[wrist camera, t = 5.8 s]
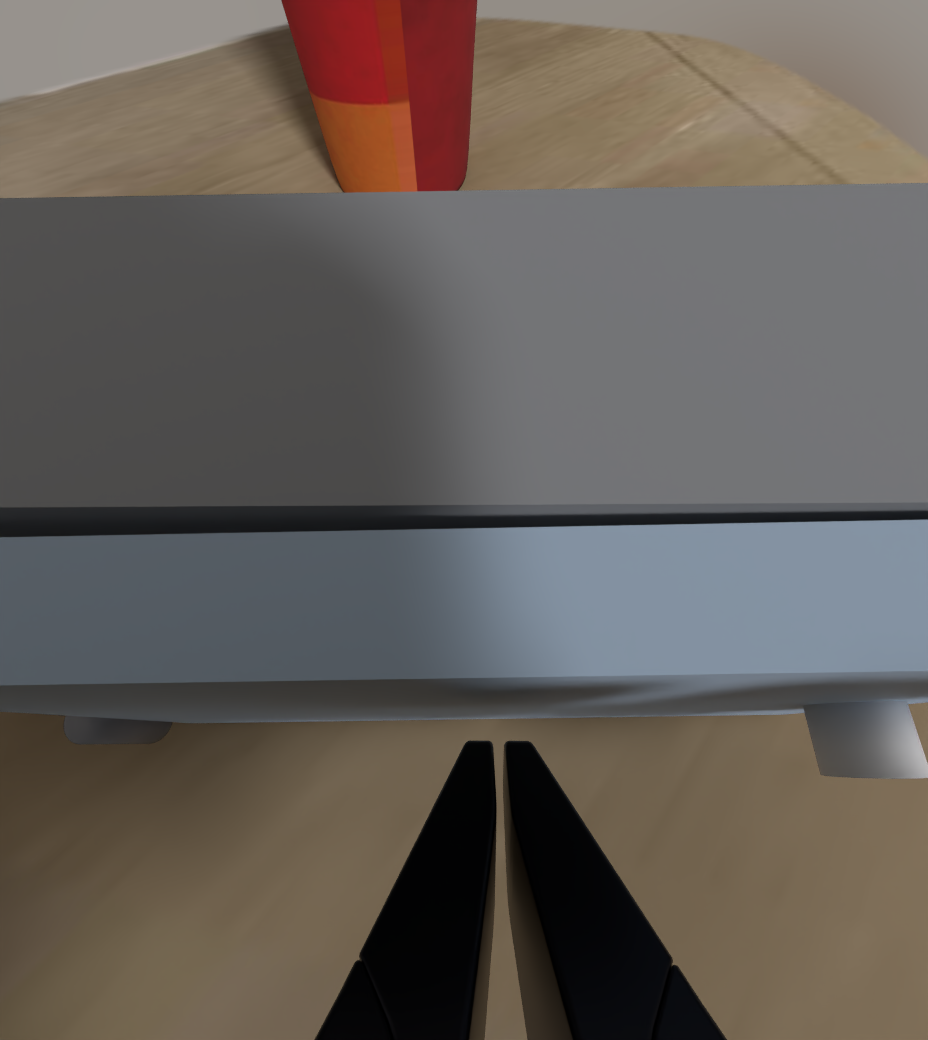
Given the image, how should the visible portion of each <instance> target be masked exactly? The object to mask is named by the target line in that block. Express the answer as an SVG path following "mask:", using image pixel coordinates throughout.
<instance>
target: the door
mask: <svg viewBox="0 0 928 1040" xmlns="http://www.w3.org/2000/svg"><path fill="white" fill-rule="evenodd" d="M925 702H928V520H882V521H830V522H778V523H726V524H674V525H621V526H569V527H517V528H465V529H412V530H360V531H308V532H256V533H204V534H151V535H99V536H47V537H0V712H16V713H33V714H49V715H66V717H65V720H64V732H65V735H66V737H67V738H68V739H69V740H70V741H71V742H73V743H76V744H150V743H155V742H157V741H159V740H161V739H162V738H163V737H164V736H165V735H166V734H167V733H168V731H169V730H170V728H171V725H172V722H181V723H239V722H307V721H375V720H443V719H511V718H579V717H647V716H715V715H782V714H794V713H805V716H806V720H807V724H808V728H809V732H810V736H811V739H812V743H813V747H814V751H815V755H816V759H817V763H818V767H819V771H820V775H824V776H834V777H851V778H889V779H907V778H928V764H927V761H926V758H925V755H924V752H923V749H922V746H921V743H920V740H919V737H918V734H917V731H916V728H915V725H914V722H913V719H912V716H911V713H910V710H909V707H908V704H913V703H925Z"/></svg>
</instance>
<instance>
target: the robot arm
mask: <svg viewBox="0 0 928 1040" xmlns="http://www.w3.org/2000/svg"><path fill="white" fill-rule="evenodd" d="M503 801H504V825H505V850H506V874H507V893H508V906H509V915H510V923H511V930H512V937H513V943H514V950H515V957H516V964H517V971H518V978H519V984H520V991H521V998H522V1005H523V1012H524V1019H525V1025H526V1032H527V1039H528V1040H727V1039H726V1037H725V1036H724V1035H723V1033H722V1032H721V1030H720V1029H719V1027H718V1026H717V1024H716V1023H715V1021H714V1020H713V1019H712V1017H711V1016H710V1014H709V1013H708V1011H707V1010H706V1008H705V1007H704V1005H703V1004H702V1002H701V1001H700V999H699V998H698V996H697V995H696V993H695V992H694V990H693V989H692V987H691V986H690V984H689V983H688V981H687V979H686V978H685V976H684V975H683V973H682V972H681V970H680V969H679V967H678V966H677V965H673V966H672V963H673V959H672V957H671V955H670V954H669V952H668V951H667V949H666V948H665V946H664V945H663V943H662V942H661V940H660V939H659V937H658V935H657V934H656V932H655V931H654V929H653V928H652V926H651V925H650V923H649V922H648V920H647V919H646V917H645V916H644V914H643V912H642V911H641V909H640V908H639V906H638V905H637V903H636V902H635V900H634V899H633V897H632V896H631V894H630V893H629V891H628V889H627V888H626V886H625V885H624V883H623V882H622V880H621V879H620V877H619V876H618V874H617V873H616V871H615V870H614V868H613V866H612V865H611V863H610V862H609V860H608V859H607V857H606V856H605V854H604V853H603V851H602V850H601V848H600V847H599V845H598V843H597V842H596V840H595V839H594V837H593V836H592V834H591V833H590V831H589V830H588V828H587V827H586V825H585V824H584V822H583V820H582V819H581V817H580V816H579V814H578V813H577V811H576V810H575V808H574V807H573V805H572V804H571V802H570V801H569V799H568V797H567V796H566V794H565V793H564V791H563V790H562V788H561V787H560V785H559V784H558V782H557V781H556V779H555V777H554V776H553V774H552V773H551V771H550V770H549V768H548V767H547V765H546V764H545V762H544V761H543V759H542V758H541V756H540V754H539V753H538V751H537V750H536V748H535V747H534V745H533V744H532V743H531V742H529V741H507V742H506V743H505V745H504V765H503ZM495 861H496V787H495V770H494V753H493V744H492V742H490V741H468V742H466V743H465V745H464V746H463V748H462V750H461V752H460V754H459V756H458V758H457V760H456V762H455V764H454V766H453V768H452V770H451V772H450V774H449V776H448V778H447V780H446V782H445V784H444V786H443V788H442V790H441V792H440V794H439V796H438V798H437V800H436V802H435V804H434V806H433V808H432V810H431V812H430V814H429V816H428V818H427V820H426V822H425V824H424V826H423V828H422V830H421V832H420V834H419V836H418V838H417V840H416V842H415V844H414V846H413V848H412V850H411V852H410V854H409V856H408V858H407V860H406V862H405V864H404V866H403V868H402V870H401V872H400V874H399V876H398V878H397V880H396V882H395V884H394V886H393V888H392V890H391V892H390V894H389V896H388V898H387V900H386V902H385V904H384V906H383V908H382V910H381V912H380V914H379V916H378V918H377V920H376V922H375V924H374V926H373V928H372V930H371V932H370V934H369V936H368V938H367V940H366V942H365V944H364V946H363V948H362V950H361V952H360V954H359V958H360V960H357V961H356V962H355V963H354V965H353V967H352V969H351V971H350V973H349V975H348V977H347V979H346V981H345V983H344V985H343V987H342V989H341V991H340V993H339V995H338V997H337V999H336V1000H335V1002H334V1004H333V1006H332V1008H331V1010H330V1012H329V1013H328V1015H327V1017H326V1019H325V1021H324V1023H323V1025H322V1027H321V1028H320V1030H319V1032H318V1034H317V1036H316V1038H315V1040H484V1038H485V1025H486V1013H487V1000H488V988H489V975H490V963H491V950H492V938H493V925H494V907H495Z"/></svg>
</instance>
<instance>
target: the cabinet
mask: <svg viewBox="0 0 928 1040" xmlns="http://www.w3.org/2000/svg"><path fill="white" fill-rule="evenodd" d="M882 520H928V183H901V184H840V185H780V186H719V187H658V188H598V189H537V190H477V191H416V192H355V193H295V194H234V195H173V196H113V197H52V198H0V537H47V536H99V535H151V534H204V533H256V532H308V531H360V530H412V529H465V528H517V527H569V526H621V525H674V524H726V523H778V522H830V521H882Z"/></svg>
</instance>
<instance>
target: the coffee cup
mask: <svg viewBox="0 0 928 1040" xmlns="http://www.w3.org/2000/svg"><path fill="white" fill-rule="evenodd" d="M282 4H283V7H284V10H285V13H286V17H287V20H288V23H289V27H290V30H291V33H292V36H293V40H294V43H295V46H296V49H297V53H298V56H299V59H300V62H301V66H302V69H303V72H304V75H305V79H306V82H307V85H308V88H309V92H310V95H311V98H312V101H313V104H314V108H315V111H316V114H317V117H318V121H319V124H320V127H321V130H322V133H323V137H324V140H325V143H326V146H327V149H328V152H329V155H330V158H331V161H332V164H333V167H334V170H335V173H336V176H337V178H338V181H339V183H340V186H341V188H342V190H343V191H344V193H355V192H416V191H458V190H459V189H460V187H461V186H462V184H463V182H464V179H465V176H466V171H467V162H468V151H469V135H470V119H471V99H472V79H473V59H474V43H475V27H476V11H477V0H282Z"/></svg>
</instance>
